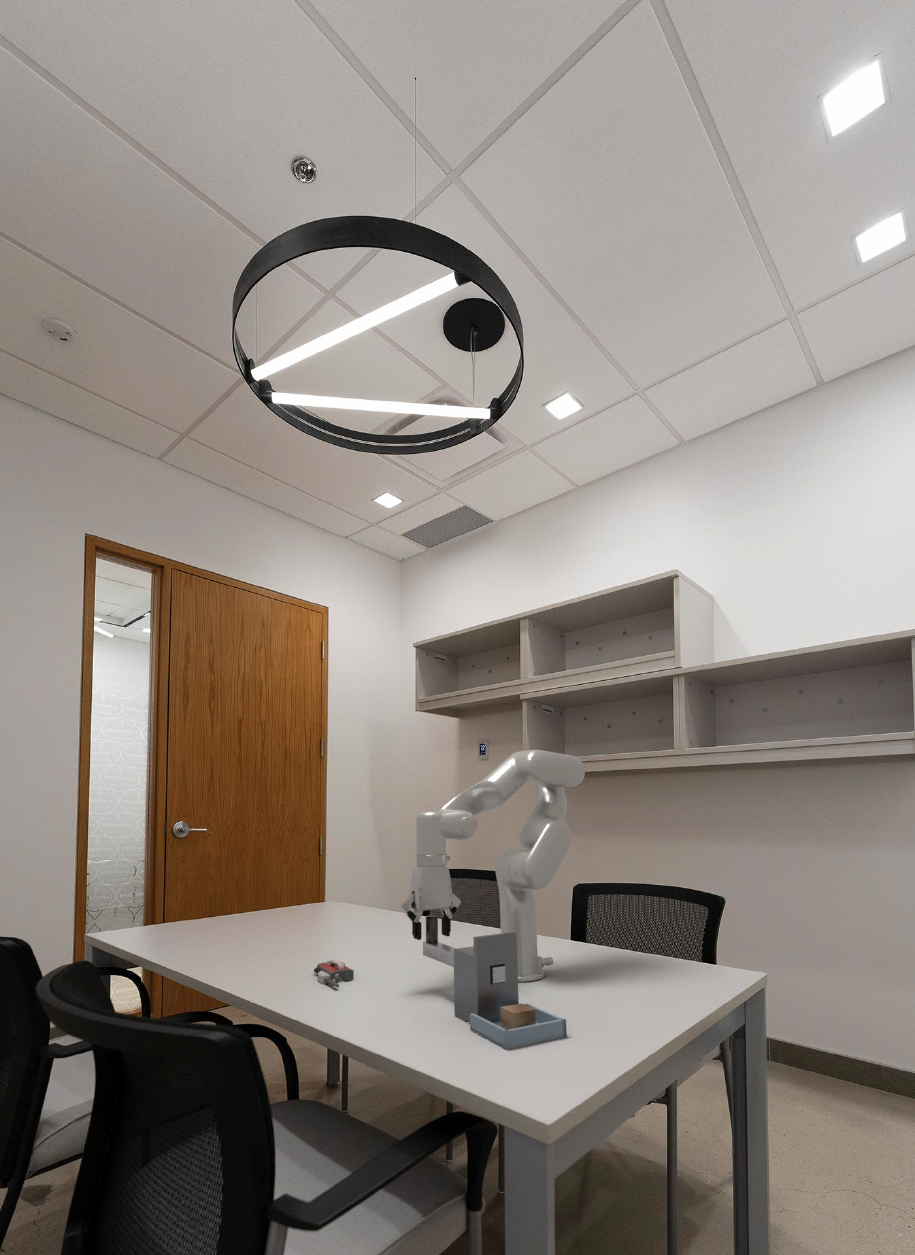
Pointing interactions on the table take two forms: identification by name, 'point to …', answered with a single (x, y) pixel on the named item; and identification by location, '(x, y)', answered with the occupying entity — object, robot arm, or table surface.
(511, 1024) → the block
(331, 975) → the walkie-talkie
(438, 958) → the steel shaft
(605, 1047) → the table surface
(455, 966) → the bracket
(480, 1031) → the slate tray
